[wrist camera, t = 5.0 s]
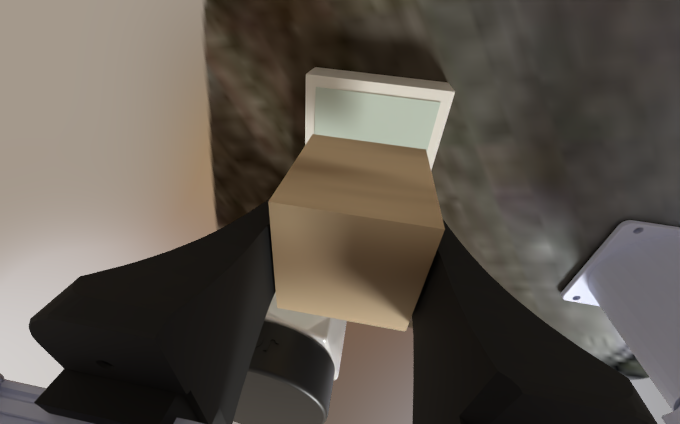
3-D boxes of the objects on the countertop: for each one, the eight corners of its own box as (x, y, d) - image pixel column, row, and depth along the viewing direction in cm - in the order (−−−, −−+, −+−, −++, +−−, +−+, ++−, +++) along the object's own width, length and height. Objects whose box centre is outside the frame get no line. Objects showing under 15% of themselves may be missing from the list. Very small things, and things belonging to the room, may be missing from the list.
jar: (315, 194, 21) (250, 347, 12) (376, 262, 24) (364, 427, 15) (241, 240, 25) (149, 381, 16) (301, 293, 29) (254, 438, 19)
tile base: (448, 82, 16) (455, 92, 14) (415, 196, 20) (418, 214, 18) (315, 66, 16) (305, 74, 14) (312, 180, 21) (304, 197, 19)
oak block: (401, 236, 14) (405, 331, 10) (310, 222, 14) (277, 307, 10) (426, 149, 11) (444, 229, 7) (312, 134, 11) (268, 201, 7)
